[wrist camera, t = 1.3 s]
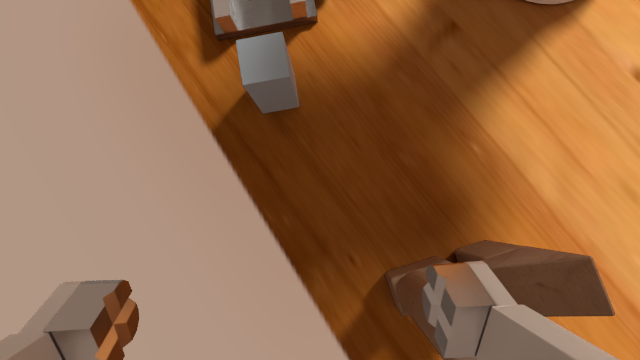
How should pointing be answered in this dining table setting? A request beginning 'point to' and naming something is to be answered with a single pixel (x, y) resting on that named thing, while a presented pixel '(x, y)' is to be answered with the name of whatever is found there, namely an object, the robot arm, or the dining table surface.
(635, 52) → the dining table surface
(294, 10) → the free jaw
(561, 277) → the brown wooden angled piece
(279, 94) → the steel block
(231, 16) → the vise
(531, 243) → the dining table surface
